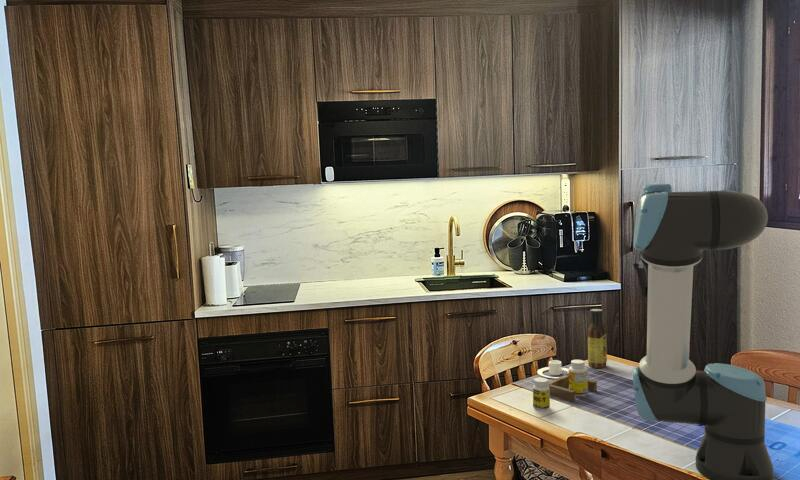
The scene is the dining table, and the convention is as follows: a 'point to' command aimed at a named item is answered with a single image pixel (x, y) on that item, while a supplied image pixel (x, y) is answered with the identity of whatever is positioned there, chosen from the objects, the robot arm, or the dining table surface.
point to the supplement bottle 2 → (578, 378)
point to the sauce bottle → (597, 340)
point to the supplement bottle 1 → (541, 394)
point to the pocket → (567, 394)
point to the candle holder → (553, 369)
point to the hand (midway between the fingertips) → (656, 322)
